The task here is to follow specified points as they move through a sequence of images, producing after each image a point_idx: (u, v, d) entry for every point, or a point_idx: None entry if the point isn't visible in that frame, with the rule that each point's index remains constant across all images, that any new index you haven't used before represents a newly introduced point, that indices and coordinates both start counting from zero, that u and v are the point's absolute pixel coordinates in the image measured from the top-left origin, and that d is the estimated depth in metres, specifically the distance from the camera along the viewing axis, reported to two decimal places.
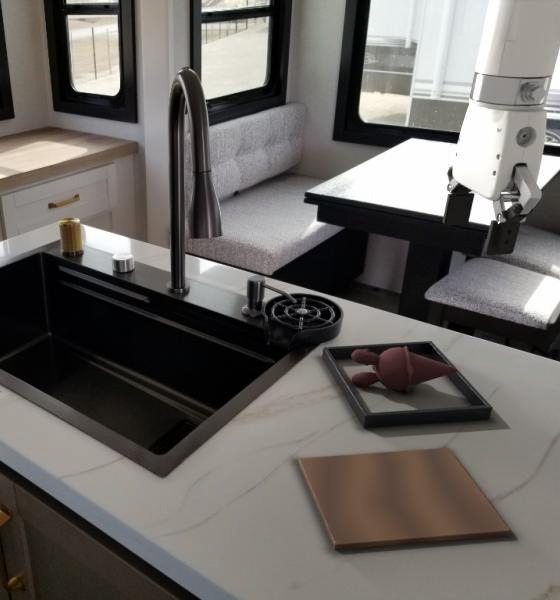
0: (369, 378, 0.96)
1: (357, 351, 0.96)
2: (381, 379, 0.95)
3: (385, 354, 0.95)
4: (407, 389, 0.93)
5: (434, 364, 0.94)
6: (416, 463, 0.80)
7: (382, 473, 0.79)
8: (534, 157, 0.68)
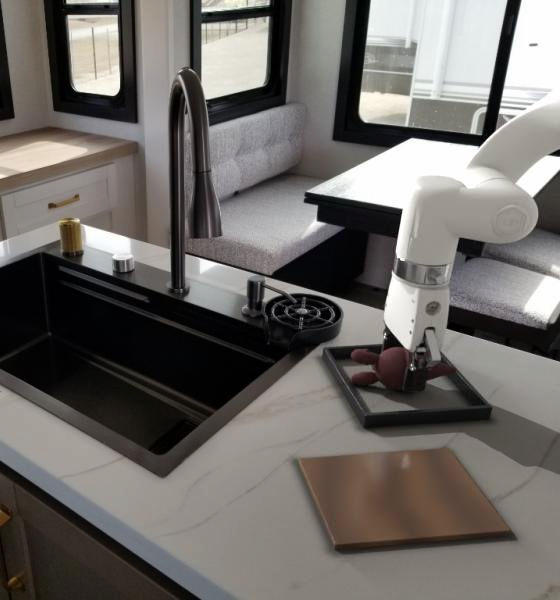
0: (369, 378, 0.96)
1: (357, 351, 0.96)
2: (381, 379, 0.95)
3: (385, 354, 0.95)
4: None
5: None
6: (416, 463, 0.80)
7: (382, 473, 0.79)
8: (440, 322, 0.86)
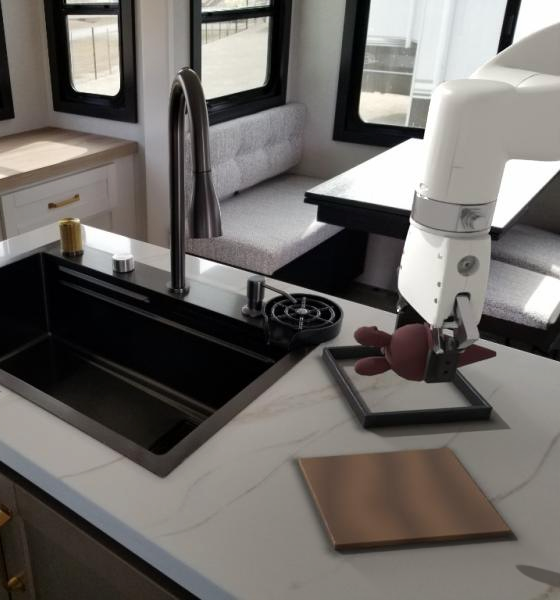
0: (377, 365, 0.72)
1: (361, 329, 0.72)
2: (394, 366, 0.71)
3: (399, 332, 0.71)
4: None
5: None
6: (416, 463, 0.80)
7: (382, 473, 0.79)
8: (478, 286, 0.62)
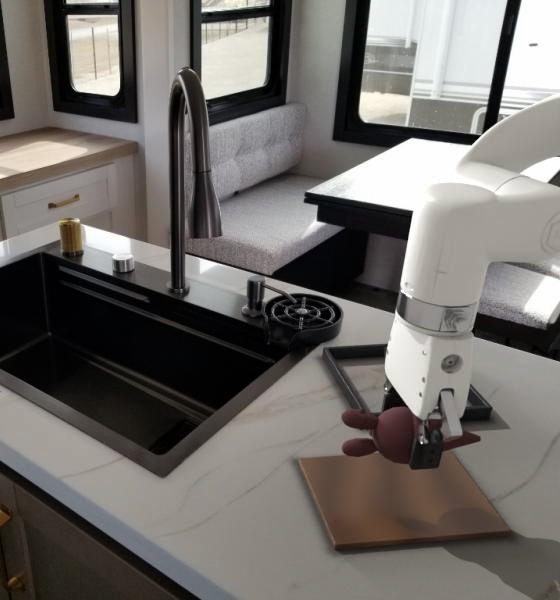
0: (364, 447, 0.73)
1: (349, 412, 0.73)
2: (380, 449, 0.72)
3: (385, 416, 0.72)
4: None
5: None
6: None
7: (382, 473, 0.79)
8: (461, 382, 0.63)
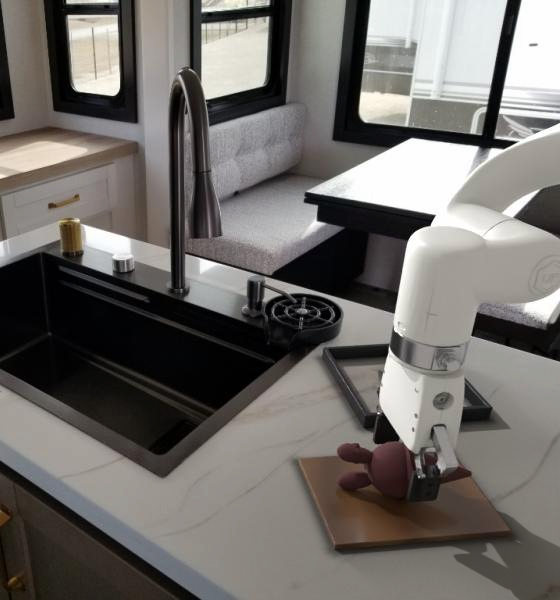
0: (359, 481, 0.75)
1: (344, 446, 0.75)
2: (374, 483, 0.74)
3: (379, 451, 0.74)
4: None
5: None
6: None
7: None
8: (453, 418, 0.65)
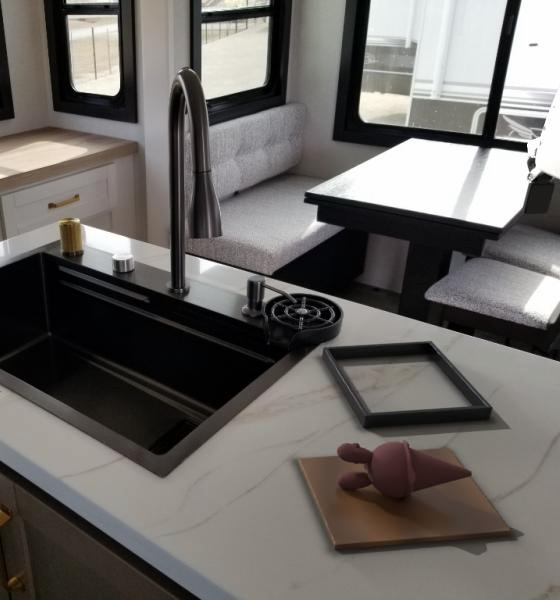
0: (359, 481, 0.75)
1: (344, 446, 0.75)
2: (374, 483, 0.74)
3: (379, 451, 0.74)
4: (407, 498, 0.73)
5: (442, 466, 0.73)
6: None
7: None
8: None
